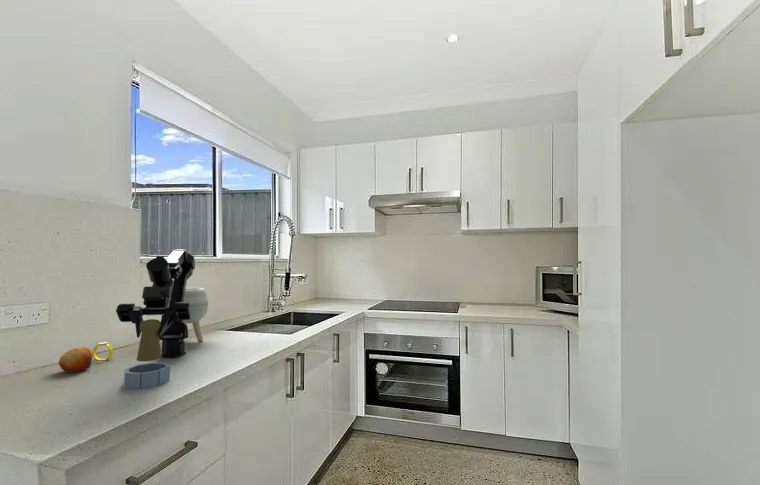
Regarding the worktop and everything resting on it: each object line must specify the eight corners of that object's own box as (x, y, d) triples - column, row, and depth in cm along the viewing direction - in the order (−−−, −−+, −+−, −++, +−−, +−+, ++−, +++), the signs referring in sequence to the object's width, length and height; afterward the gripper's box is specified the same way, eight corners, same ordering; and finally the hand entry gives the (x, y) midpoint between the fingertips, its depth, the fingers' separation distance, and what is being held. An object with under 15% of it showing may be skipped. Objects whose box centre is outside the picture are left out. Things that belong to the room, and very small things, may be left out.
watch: (90, 362, 123) (90, 344, 123) (96, 359, 125) (96, 342, 126) (109, 360, 123) (108, 343, 123) (114, 358, 126) (114, 341, 126)
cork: (143, 362, 99) (144, 322, 100) (132, 359, 102) (133, 320, 103) (165, 357, 104) (167, 319, 105) (154, 354, 107) (156, 317, 108)
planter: (174, 338, 158) (176, 287, 159) (212, 338, 160) (214, 287, 161) (155, 347, 142) (157, 290, 143) (197, 347, 144) (199, 290, 145)
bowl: (114, 387, 98) (114, 372, 98) (143, 375, 108) (143, 361, 109) (150, 389, 97) (151, 374, 97) (176, 376, 108) (176, 363, 108)
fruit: (104, 362, 116) (91, 343, 113) (80, 381, 110) (66, 362, 106) (87, 359, 119) (74, 341, 115) (63, 378, 112) (48, 359, 109)
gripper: (119, 276, 105) (101, 320, 94) (190, 276, 111) (181, 318, 100) (128, 299, 112) (112, 344, 101) (194, 298, 118) (186, 340, 107)
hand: (148, 336), depth 102 cm, fingers closed on cork, 5 cm apart
